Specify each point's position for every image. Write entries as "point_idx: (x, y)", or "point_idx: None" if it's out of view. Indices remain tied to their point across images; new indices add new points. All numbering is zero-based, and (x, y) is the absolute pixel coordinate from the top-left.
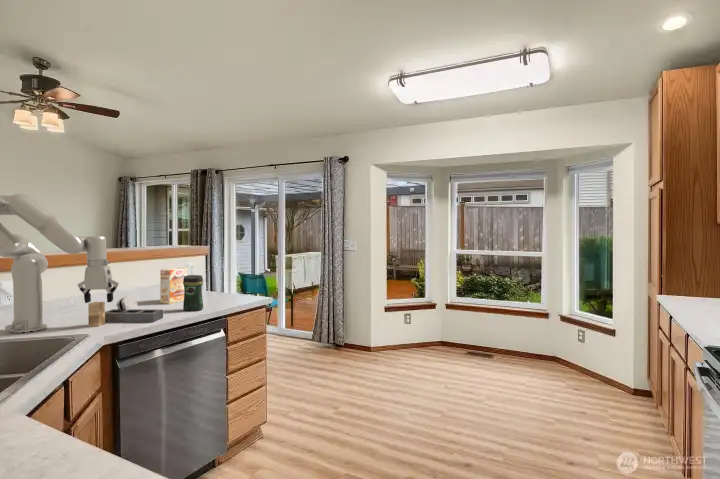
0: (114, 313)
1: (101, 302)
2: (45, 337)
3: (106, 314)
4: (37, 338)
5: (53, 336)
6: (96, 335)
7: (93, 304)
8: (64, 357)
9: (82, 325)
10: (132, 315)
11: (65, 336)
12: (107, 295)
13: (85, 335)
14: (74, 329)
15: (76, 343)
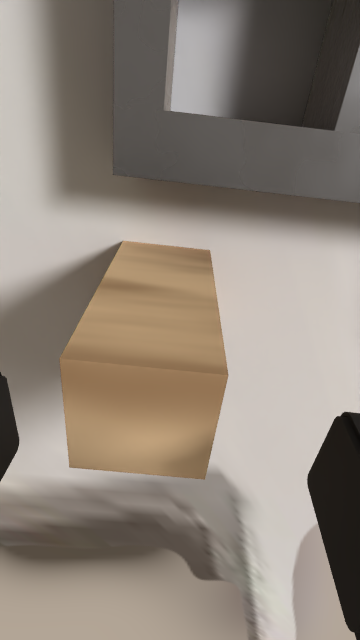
0: (289, 194)
1: (198, 413)
2: (59, 500)
3: (190, 182)
4: (37, 509)
5: (81, 491)
6: (272, 494)
7: (137, 463)
8: (269, 636)
9: (57, 285)
10: None
11: (137, 495)
12: (350, 599)
13: (220, 490)
14: None
15: (240, 564)
